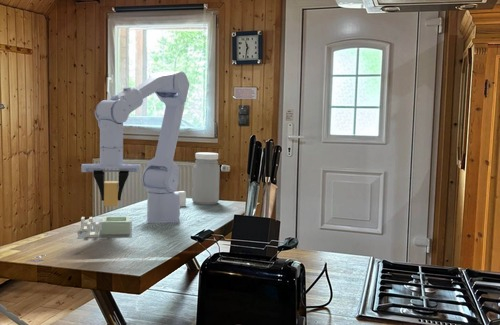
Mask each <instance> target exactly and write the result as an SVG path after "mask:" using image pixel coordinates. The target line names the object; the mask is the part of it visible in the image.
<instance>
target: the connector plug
mask: <svg viewBox="0 0 500 325" xmlns="http://www.w3.org/2000/svg"><path fill="white" fill-rule="evenodd" d="M118 190H119V180H118V181H117V180H104V201H103V207H118V206H119V201H118Z"/></svg>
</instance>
